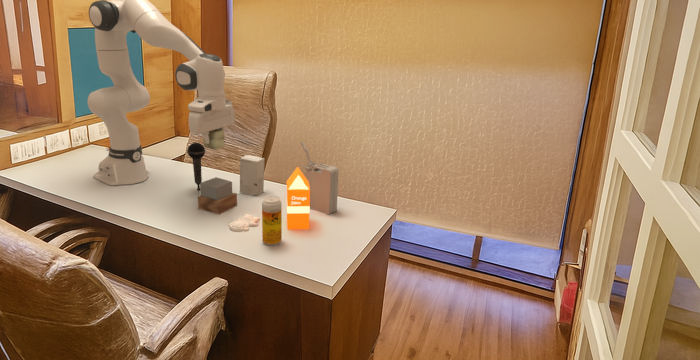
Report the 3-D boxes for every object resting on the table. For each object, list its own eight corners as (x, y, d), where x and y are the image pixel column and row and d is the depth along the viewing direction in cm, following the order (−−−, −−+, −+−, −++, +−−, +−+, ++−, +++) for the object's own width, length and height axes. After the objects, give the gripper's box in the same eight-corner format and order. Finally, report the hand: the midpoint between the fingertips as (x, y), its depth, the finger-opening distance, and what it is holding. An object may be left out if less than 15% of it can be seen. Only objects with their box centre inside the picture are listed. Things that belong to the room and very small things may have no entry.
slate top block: (200, 195, 175) (200, 182, 173) (216, 189, 182) (215, 177, 180) (217, 200, 171) (216, 187, 170) (232, 194, 178) (231, 181, 176)
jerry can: (297, 204, 184) (298, 142, 175) (306, 200, 188) (307, 139, 179) (328, 215, 176) (330, 150, 167) (336, 211, 180) (339, 147, 171)
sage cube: (204, 147, 169) (203, 131, 166) (213, 144, 173) (212, 128, 171) (215, 149, 167) (214, 133, 165) (224, 146, 171) (224, 130, 169)
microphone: (202, 194, 188) (199, 146, 181) (186, 192, 189) (183, 144, 183) (210, 188, 195) (208, 141, 188) (195, 186, 196) (192, 139, 189)
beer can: (267, 248, 150) (267, 204, 145) (259, 240, 155) (258, 197, 149) (284, 243, 153) (284, 200, 148) (276, 236, 158) (275, 194, 153)
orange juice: (308, 218, 172) (309, 166, 166) (309, 229, 164) (310, 174, 157) (286, 218, 171) (286, 166, 164) (286, 229, 163) (286, 174, 156)
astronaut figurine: (265, 223, 168) (265, 215, 167) (240, 235, 158) (240, 227, 157) (247, 216, 172) (247, 208, 171) (222, 227, 162) (222, 219, 161)
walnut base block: (198, 209, 176) (197, 196, 174) (216, 200, 184) (215, 188, 182) (219, 215, 172) (219, 202, 170) (237, 205, 180) (236, 193, 179)
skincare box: (239, 193, 192) (238, 158, 187) (246, 188, 197) (246, 154, 192) (258, 196, 189) (257, 161, 184) (265, 191, 195) (264, 156, 190)
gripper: (224, 97, 174) (225, 133, 179) (184, 106, 157) (187, 146, 162) (238, 99, 172) (239, 136, 177) (199, 108, 154) (201, 149, 159)
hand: (214, 141), depth 169 cm, fingers closed on sage cube, 5 cm apart
